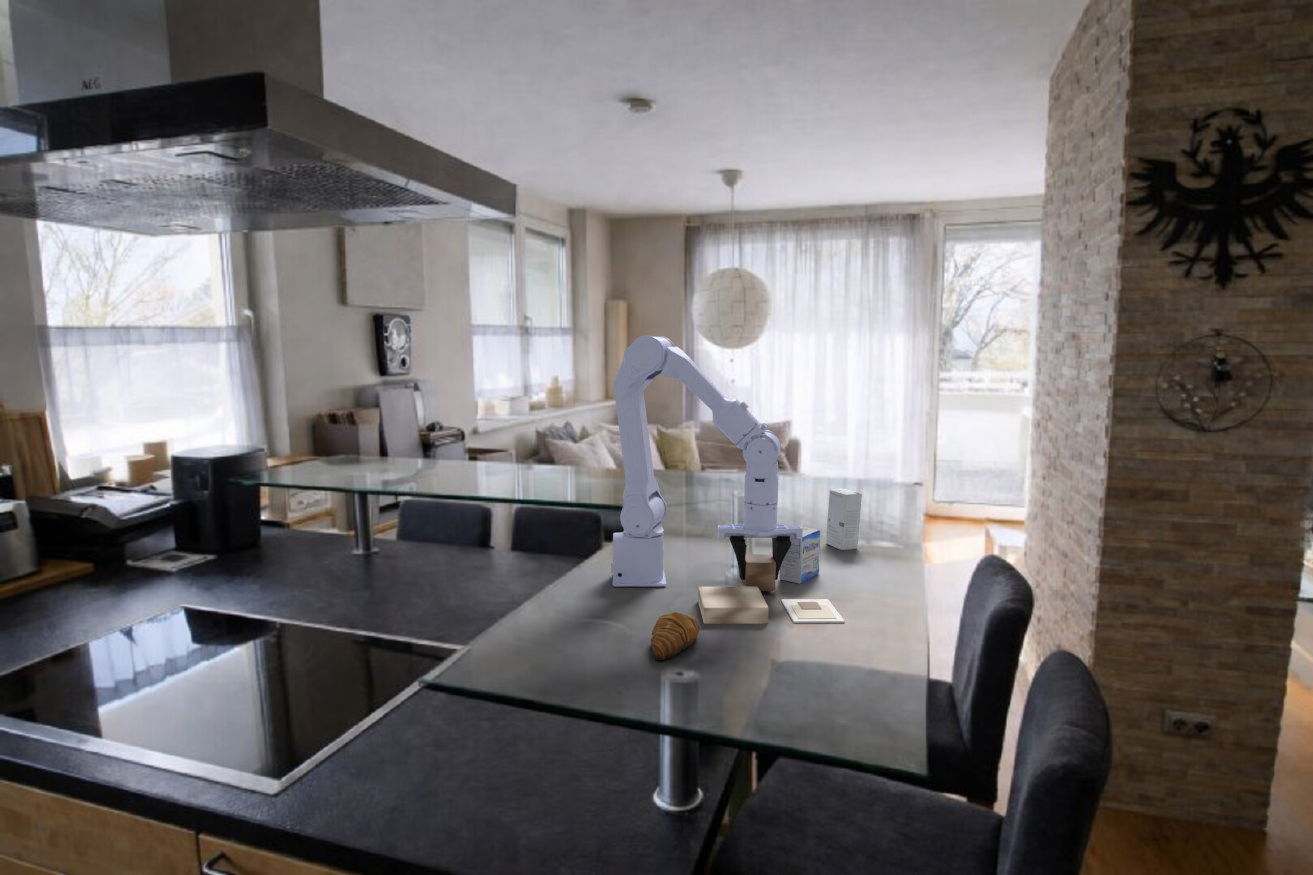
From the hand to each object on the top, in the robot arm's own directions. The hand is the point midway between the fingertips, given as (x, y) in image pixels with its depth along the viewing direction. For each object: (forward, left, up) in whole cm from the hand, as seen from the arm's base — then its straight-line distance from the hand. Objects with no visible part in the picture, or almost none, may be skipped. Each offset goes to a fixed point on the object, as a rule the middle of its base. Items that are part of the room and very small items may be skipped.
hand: (758, 578), depth 131 cm
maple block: (-6, -10, -3) cm, 12 cm away
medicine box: (+9, +8, -3) cm, 12 cm away
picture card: (+7, -10, -2) cm, 12 cm away
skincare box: (+23, +29, -3) cm, 37 cm away
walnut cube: (0, 0, -2) cm, 2 cm away
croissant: (-16, -23, -3) cm, 28 cm away
